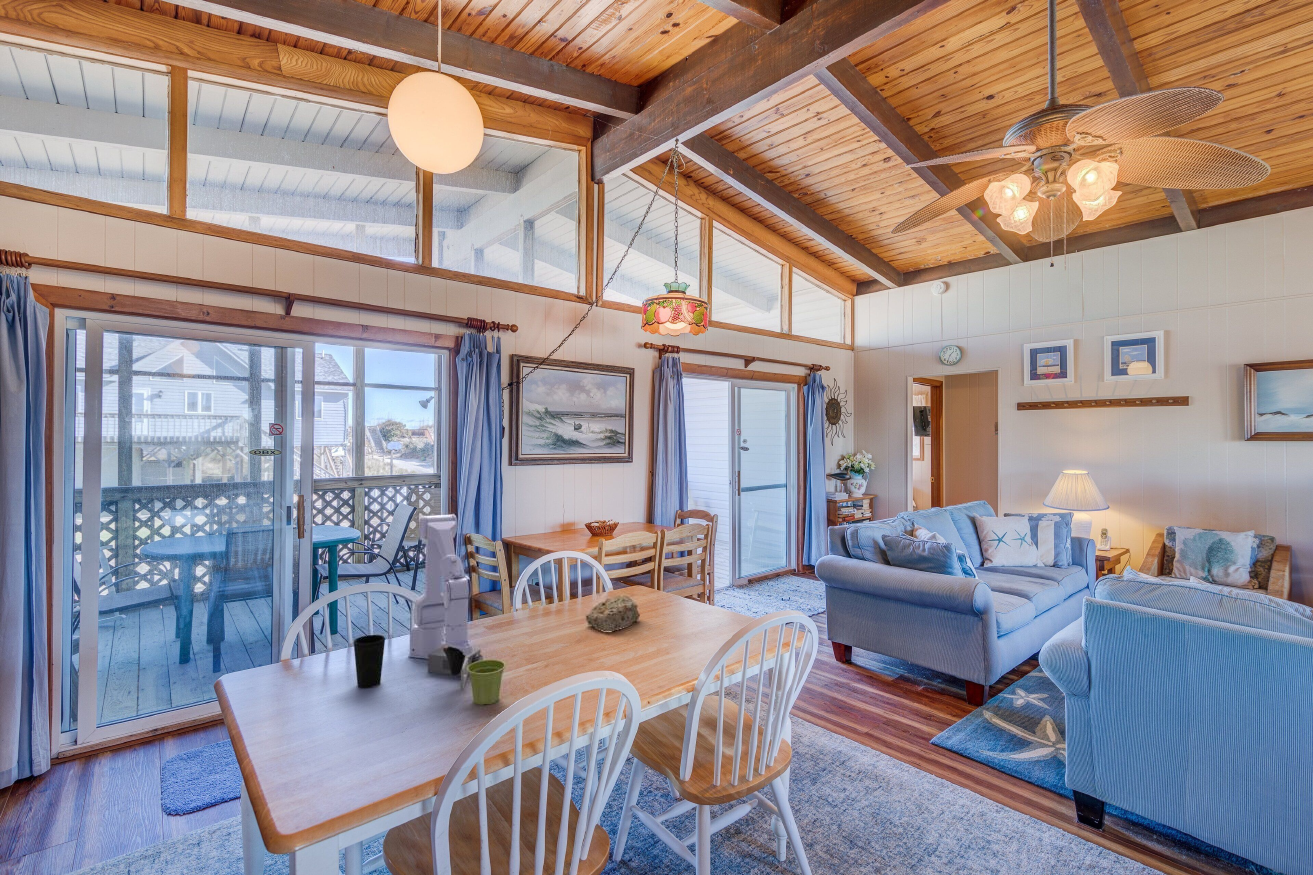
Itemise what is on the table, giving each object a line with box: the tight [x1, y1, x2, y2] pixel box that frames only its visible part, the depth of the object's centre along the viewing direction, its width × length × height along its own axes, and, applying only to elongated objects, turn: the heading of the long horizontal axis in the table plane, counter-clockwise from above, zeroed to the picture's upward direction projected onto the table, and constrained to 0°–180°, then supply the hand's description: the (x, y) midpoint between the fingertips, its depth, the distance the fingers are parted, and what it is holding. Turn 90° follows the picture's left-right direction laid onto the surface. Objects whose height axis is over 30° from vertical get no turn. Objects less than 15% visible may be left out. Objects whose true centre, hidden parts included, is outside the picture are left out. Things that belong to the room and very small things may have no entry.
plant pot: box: [467, 659, 506, 706], centre depth 157 cm, size 9×9×9 cm
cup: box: [353, 634, 386, 689], centre depth 166 cm, size 8×8×12 cm
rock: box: [584, 595, 641, 631], centre depth 222 cm, size 21×14×10 cm
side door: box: [460, 659, 469, 689], centre depth 168 cm, size 9×1×5 cm, turn 10°
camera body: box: [427, 646, 484, 677], centre depth 177 cm, size 14×8×6 cm, turn 77°
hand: (455, 674), depth 166 cm, fingers closed
